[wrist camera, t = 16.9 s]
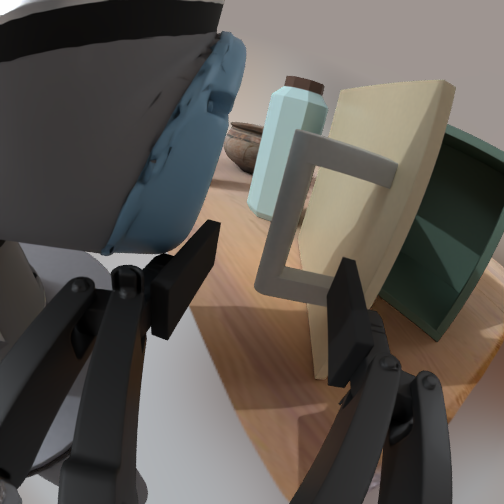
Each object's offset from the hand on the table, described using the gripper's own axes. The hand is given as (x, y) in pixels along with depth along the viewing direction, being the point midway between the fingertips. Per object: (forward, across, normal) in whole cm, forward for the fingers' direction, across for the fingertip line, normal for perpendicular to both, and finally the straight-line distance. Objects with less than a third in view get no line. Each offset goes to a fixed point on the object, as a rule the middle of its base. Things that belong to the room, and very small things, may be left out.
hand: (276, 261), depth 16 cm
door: (+15, +2, -11) cm, 18 cm away
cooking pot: (+64, -12, -10) cm, 66 cm away
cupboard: (+27, +20, -11) cm, 35 cm away
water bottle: (+36, -2, -11) cm, 38 cm away
